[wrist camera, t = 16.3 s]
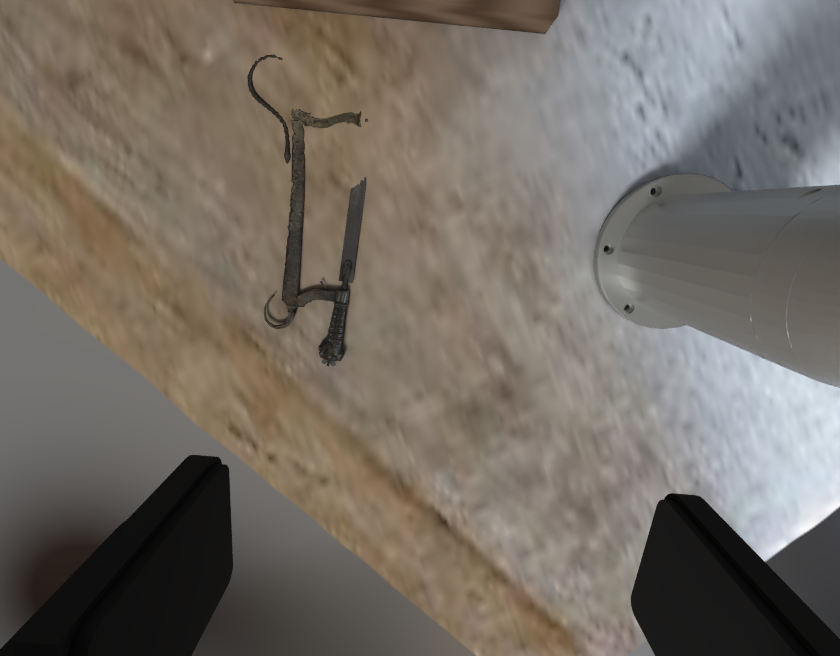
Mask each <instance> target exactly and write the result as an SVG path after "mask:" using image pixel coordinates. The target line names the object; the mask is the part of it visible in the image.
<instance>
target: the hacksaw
mask: <svg viewBox="0 0 840 656" xmlns="http://www.w3.org/2000/svg"><path fill="white" fill-rule="evenodd" d="M267 57H272V58H275V57H277V56H275V55H266V56H264V57H261V58H259V61H258V62H260V61H261V60H262V59H263V60H264V59H266V58H267ZM277 58H278V59H279V60H282V58H280V57H277ZM258 62H257V61H255V64H254V65H252V68H251V70H250V72H249V75H248V86H249V91H250V92H251V93H252V96H253V97H254V98H255V99H256V100H257V101H258V102H259V103H261V104H262V105H263V106H264V107H266V108H267V109H268V110H269V111H271V112H272V113H273V114H274V115H276V117H277V118H278V119H280V122H281V123H283V127H284V132H285V135H286V136H285V139H286V146H285V154H284V157H285V160H286V163H287V164H288V163H289V160H290V156H291V155H290V146H289V144H290V141H289V134H288V128H287V126H286V123H285V121H284V120H283V118H282V117H281V116H280V115H279V113H278V112H276V111H275V110H274V109H273V108H272V107H271V106H270V105H269V104H267V103H266V102H265V101H264V100H262V99H261V98H260V97H259V96H258V95H257V94H256V92H255V90H254V87H253V82H252V75H253V71H254V69H255V67H256V66H257V63H258ZM293 110H294V109H293ZM293 110H292V111H293ZM292 111H291V112H292ZM295 111H296V112H294V111H293V112H292V115H293V116H292V115H291V116H292V118H293V119H294V120H292V121H291V122H292V125H293V131H294V135H293V137H292V138H293V139H292V142H293V147H292V179H293V180H291V182H293V187H292V188H291V192H292V194H291V199H290V201H291V203H290V207H291V212H290V213H289V226H288V230H289V236H288V239H287V247H286V262H285V272H284V279H283V292H282V299H281V300H282V301H283V302H284V303H285V304H286V306H287V309H288V311H287V312H289V315H288V318H287V320H286V322H284V323H283V324H281V325H273V324H271V323H270V322H269V321H268V320H267V317H266V307H267V305H268V303H269V302H270V301H271V299H272V298H273V297H274V296H275V295H273V296H272V297H271V298H270V299H269V301H268V302H267V303H266V305H265V308H264V317H265V321H266V322H267V323H268V325H270V326H271V327H273V328H276V329H279V328H285V327H287V326H288V325H290V323H291V322H292V320H293V317H294V313H295V312H296V311H295V309H296V308H297V307H304V306H305V304H307V303H309V302H312V300H327V301H334V309H333V313H332V317H331V323H330V327H329V330H328V335H327V338H326V339H325V341H324V342H322V343H321V344H320V345H319V347H318V348H319V350H320V352H319V355H320V357H322V358H323V360H322V363H324V364H325V363H327V362H328V363H327V366H329V363H331V365H332V366H335V365H336V363H335V362H334V361H337V360H338V361H341V360H342V358H343V356H344V352H343V351H342V340H343V334H344V332H343V331H344V324H345V315H346V310H347V307H348V303H347V302H348V299H349V294H350V293H349V291H347V283H348V282H349V283H353V276H354V275H353V274H354V269H355V268H354V267H355V262H356V261H355V260H356V255H357V247H358V246H357V245H358V240H359V235H360V234H359V232H360V227H361V226H360V225H361V220H362V218H361V217H362V212H363V204H364V203H363V202H364V199H365V198H364V197H365V191H366V190H365V189H366V177H365V178H364V181H362V180H361V183H360V185H359V184H358V185H357V186H355V187H353V188H352V189H351V192H350V200H349V208H348V215H347V223H346V230H345V238H344V245H343V253H342V261H341V268H340V276H339V281H343V283H342V287H341V289H337V291H333V290H328V289H327V288H326V287H325V286H324V285H323V282H322V281H320V283H321V284H322V285H323V286H324V287H325V288H326V290H325V289H312V290H308V291H305V292H302V293H301V294H298V286H299V273H300V258H301V244H302V243H301V242H302V228H303V211H304V192H305V155H304V149H305V148H304V140H303V139H304V137H303V136H304V129H303V124H304V125H305V126H312V127H317V128H327V127H330V126H333V125H335V124H337V123H341V122H345V121H347V123H354V124H355V125H356V124H357V126H358V127H361V123H359V122H360V117H361V112H360V113H359V114H356V115H355V113H352V112H350V113H343V114H340V115H337V116H333V117H330V118H327V119H318V118H314V117H310V116H308V115H307V114H309V115H310V114H311V113H306V112H303V111H301V110H300V109H298V111H299V112H300V113H298V111H297V109H296V110H295ZM301 112H302V113H303V114H301ZM352 117H353V118H352ZM365 122H368V120H367V119H365Z"/></svg>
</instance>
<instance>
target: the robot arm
mask: <svg viewBox="0 0 840 656" xmlns="http://www.w3.org/2000/svg"><path fill="white" fill-rule="evenodd" d="M651 189H652V190H653V193H652V194H651ZM605 246H607V250H606V251H604V247H605ZM594 272H595V279H596V282H597V285H598V288H599V290H600V293H601V294H602V296H603V297H604V299H605V301H606V302H607V303H608V304H609V305H610V307H611V308H612V309H613V310H614V311H615V312H617V313H618V314H620V315H621V316H623V317H624V318H626V319H628V320H630V321H632V322H634V323H636V324H638V325H642V326H645V327H649V328H659V329H667V328H677V327H681V326H684V325H688V326H690V327H692V328H695V329H697V330H699V331H701V332H704V333H706V334H708V335H711V336H713V337H715V338H718V339H720V340H722V341H725V342H727V343H729V344H732V345H734V346H736V347H739V348H741V349H743V350H745V351H748V352H750V353H752V354H755V355H757V356H759V357H762V358H764V359H766V360H769V361H771V362H773V363H776V364H778V365H780V366H783V367H785V368H787V369H790V370H792V371H794V372H796V373H799V374H802V375H804V376H806V377H809V378H811V379H813V380H816V381H819V382H822V383H825V384H828V385H831V386H835V387H839V388H840V185H828V186H812V187H796V188H780V189H765V190H749V191H733V190H732V189H730V188H729V187H728V186H726V185H725V184H724V183H722V182H720V181H718V180H715V179H713V178H711V177H707V176H702V175H697V174H677V175H670V176H665V177H662V178H658V179H655V180H652V181H650V182H648V183H646V184H644V185H642V186H640V187H638V188H636V189H635V190H634V191H632V192H631V193H630V194H628V195H627V196H626V197H624V198H623V199H622V200H621V201H620V202H619V204H618V205H617V206H616V207H615V208H614V209H613V210H612V212H611V213H610V215H609V216H608V218H607V219H606V221H605V222H604V224H603V226H602V229H601V231H600V233H599V235H598V238H597V242H596V246H595V250H594ZM626 305H627V307H626V308H625V309H624V307H625V306H626ZM232 569H233V555H232V531H231V506H230V481H229V468H228V466H227V465H223V464H222V462H221V460H220V458H219V457H212V456H200V455H190V456H188V457H187V458H186V459H185V460H184V461H183V462H182V463H181V464H180V465H179V466H178V467H177V468H176V469H175V470H174V471H173V473H171V475H170V476H169V477H168V478H167V479H166V480H165V481H164V482H163V483H162V484H161V485H160V486H159V487H158V488H157V489H156V490H155V491H154V492H153V493H152V494H151V495H150V496H149V498H148V499H147V500H146V501H145V502H144V503H143V504H142V505H141V506H140V507H139V508H138V509H137V510H136V511H135V512H134V513H133V514H132V515H131V516H130V517H129V518H128V519H127V520H126V521H125V522H124V523H122V524H121V525H120V526H119V527H118V528H117V529H116V530H115V531H114V532H113V533H112V534H111V535H110V536H109V537H108V538H107V539H106V540H105V541H104V542H103V543H102V544H101V545H100V546H99V547H98V548H97V550H96V551H95V552H94V553H93V554H92V555H91V556H90V557H89V558H88V559H87V560H86V561H85V562H84V563H83V564H82V565H81V566H80V567H79V568H78V569H77V570H76V571H75V572H74V573H73V574H72V575H71V577H70V578H69V579H68V580H67V581H66V582H65V583H64V584H63V585H62V586H61V587H60V588H59V589H58V590H57V591H56V592H55V593H54V594H53V595H52V596H51V597H50V598H49V599H48V600H47V601H46V602H45V604H43V606H42V607H41V608H40V609H39V610H38V611H37V612H36V613H35V614H34V615H33V616H32V617H31V618H30V619H29V620H28V621H27V622H26V623H25V624H24V625H23V626H22V627H21V628H20V629H19V631H17V633H16V634H15V635H14V636H13V637H12V638H11V639H10V640H9V641H8V642H7V643H6V644H5V645H4V646H3V647H2V648H1V649H0V656H191V655H192V653H193V651H194V650H195V648H196V646H197V643H198V642H199V640H200V638H201V636H202V634H203V632H204V630H205V628H206V626H207V624H208V622H209V621H210V619H211V617H212V615H213V613H214V611H215V609H216V607H217V605H218V603H219V601H220V600H221V598H222V596H223V594H224V592H225V590H226V588H227V586H228V584H229V581H230V578H231V574H232ZM631 606H632V610H633V613H634V616H635V618H636V620H637V622H638V624H639V625H640V627H641V629H642V631H643V633H644V635H645V637H646V639H647V641H648V643H649V644H650V646H651V648H652V650H653V652H654V654H655V656H840V639H839V638H838V637H837V636H836V635H835V634H834V633H833V632H832V631H831V630H830V629H829V627H828V626H826V624H825V623H824V622H823V621H822V620H821V619H820V618H819V617H818V616H817V615H816V614H815V613H814V612H813V611H812V610H811V609H810V608H809V607H808V606H807V605H806V604H805V603H804V602H803V601H802V600H801V599H800V598H799V597H798V596H797V595H796V594H795V593H794V592H793V591H792V590H791V589H790V587H788V585H786V583H785V582H783V580H782V579H781V578H780V577H779V576H778V575H777V574H776V573H775V572H774V571H773V570H772V569H771V568H770V567H769V566H768V565H767V564H766V563H765V562H764V561H763V560H762V559H761V558H760V557H759V556H758V555H757V554H756V553H755V552H754V551H753V550H752V549H751V547H750V546H749V545H748V544H747V543H746V542H745V541H744V540H743V539H742V538H741V537H740V536H739V535H738V534H737V533H736V532H735V531H734V530H733V529H732V528H731V527H730V526H729V525H728V524H727V523H726V522H725V521H724V520H723V519H722V518H721V517H720V516H719V515H718V514H717V513H716V512H715V511H714V510H713V509H712V508H711V506H710V505H709V504H708V503H707V502H706V501H705V500H704V499H702V498H701V497H700V496H696V495H685V494H673V493H671V494H668V495H667V496H666V497H665V499H664V500H660V501H659V502H658V504H657V507H656V511H655V514H654V517H653V521H652V524H651V528H650V531H649V535H648V538H647V542H646V545H645V549H644V552H643V556H642V559H641V563H640V566H639V570H638V573H637V577H636V580H635V584H634V587H633V591H632V595H631Z"/></svg>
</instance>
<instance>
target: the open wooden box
mask: <svg viewBox="0 0 840 656" xmlns="http://www.w3.org/2000/svg"><path fill="white" fill-rule="evenodd" d="M233 1H234V2H235V3H243V4H253V5H263V6H273V7H283V8H293V9H303V10H313V11H323V12H333V13H343V14H353V15H363V16H373V17H383V18H392V19H402V20H412V21H422V22H432V23H442V24H452V25H462V26H472V27H482V28H492V29H502V30H512V31H522V32H532V33H542V34H545V33H546V32H547V31H548V29H549V28H550V26H551V25H552V23H553V22H554V20H555V19H556V18H557V16H558V12H559V5H560V0H233Z"/></svg>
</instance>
